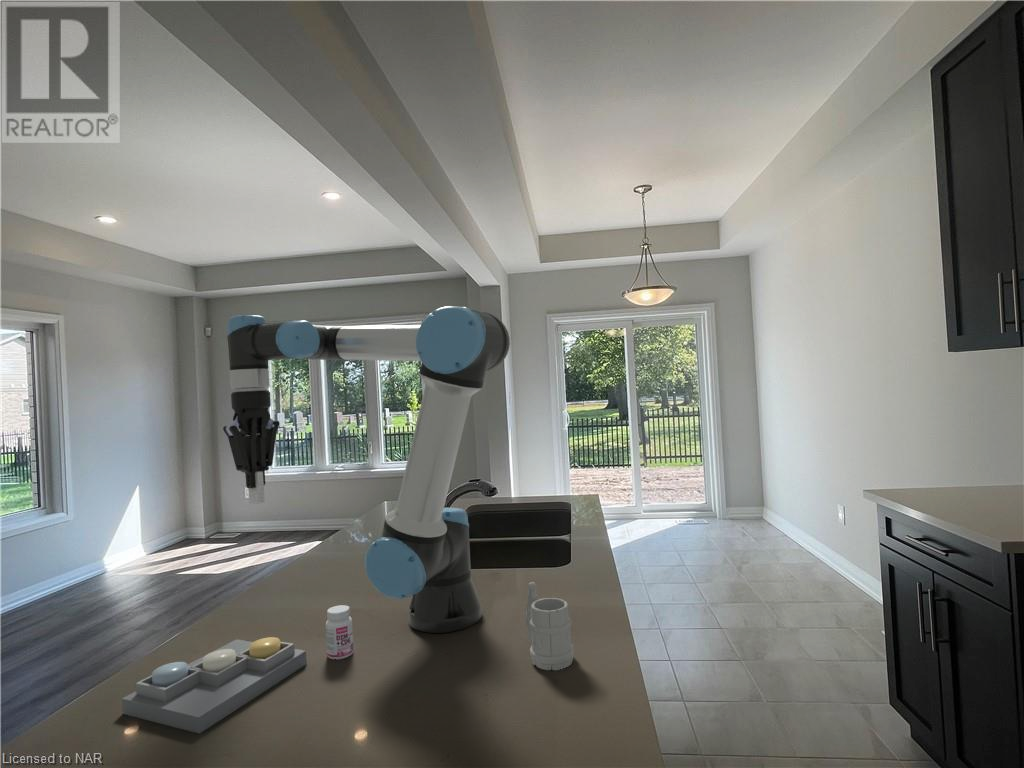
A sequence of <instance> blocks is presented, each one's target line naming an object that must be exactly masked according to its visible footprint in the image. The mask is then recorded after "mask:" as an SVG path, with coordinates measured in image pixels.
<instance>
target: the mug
mask: <svg viewBox="0 0 1024 768" xmlns="http://www.w3.org/2000/svg"><path fill="white" fill-rule="evenodd" d="M525 609H526V612H525V623H526V631H527V634H528V635H529V639H530V642H531V646H530V648H529V654H530V655H529V656H530V657H531V662H532V664H533V666H536V668H538V669H539V670H542V671H543V670H544V671H551V670H552V671H553V670H554V671H560V669H561V670H564V669H566V667H567V668H569V667H570V666H571V665H572V663H573V660H574V658H573V657H574V656H575V648H574V645H573V644H572V636H571V635H572V634H571V627H572V624H573V623H572V619H571V618H570V615H569V614H570V613H569V604H568V602H567V601H566V600H564V599H562V598H557V597H551V598H550V597H544V598H540V597H539V594H538V589H537V585H536V583H535V582H534V581H532V582H528V594H527V601H526V608H525ZM563 668H564V669H563Z"/></svg>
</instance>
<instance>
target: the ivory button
mask: <svg viewBox="0 0 1024 768" xmlns="http://www.w3.org/2000/svg"><path fill="white" fill-rule="evenodd" d="M213 651H214V652H213ZM213 651H211V652H209V653H206V654H205V655H206V656H205V655H204V658H203V669H204V670H205V671H210V672H215V673H218V672H220V671H222V670H224V669H225V668H227V667H229V666H231V665H233V664H234V663H236V652H235V650H233V649H222V650H218V651H215V650H213Z"/></svg>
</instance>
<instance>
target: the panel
mask: <svg viewBox="0 0 1024 768" xmlns="http://www.w3.org/2000/svg"><path fill="white" fill-rule="evenodd" d="M253 642H254V641H250V640H249V641H248V640H245V639H243V640H242V639H238V638H236V639H234V640H232V641H230V642H229V643H227V644H225V645H223V646H221V647H219V648H217V649H215V650H213V651H212V652H214V651H218V650H222V649H233V650H235V652H236V663H234V664H233V665H231V666H229V667H227V668H225V669H224V670H222V671H220V672H218V673H215V672H210V671H205V670H204V669H203V658H204V656H206V655H207V654H205V655H204V656H202V657H200V658H198V659H196V660H193V661H192V662H190V663H187V665H188V676H187V677H185V678H183V679H181V680H179V681H178V682H176V683H174V684H172V685H170V686H168V687H166V688H165V687H160V686H156V685H152V674H151V675H149V676H147V677H145V678H143V679H141V680H139V681H138V682H135V691H134V692H131V693H129V694H128V695H126V696H124V697H122V698H121V709H122V715H126V716H129V717H134V718H138V719H141V720H146V721H149V722H152V723H153V722H154V723H156V724H161V725H165V726H169V727H172V728H176V729H180V730H183V731H187V732H191V733H196V734H201V733H203V732H204V731H206V730H209V728H211V727H212V726H213V725H215V724H217V723H218V722H220V721H221V720H223V719H224V718H227V717H228V716H229V715H230V714H232V713H233V712H236V711H237V710H238V709H239V708H241V707H242V706H243V707H244V705H246V704H247V703H249V702H250V701H252V700H254V699H255V698H257V697H258V696H260V695H262V694H263V693H265V692H266V691H268V690H269V689H271V688H272V687H273V686H275V685H277V684H278V683H280V682H282V681H283V680H284V679H286V678H287V677H289V676H290V675H292V674H294V673H295V672H297V671H298V670H300V669H301V668H303V667H304V666H306V665H307V664H308V663H307V662H308V661H307V650H305V649H304V650H303V649H298V648H295V643H291V642H285V641H280V649H281V650H280V651H278V652H277V653H275V654H273V655H272V656H270V657H268V658H266V659H259V658H253V657H251V656H250V653H249V646H250V644H251V643H253Z"/></svg>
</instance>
